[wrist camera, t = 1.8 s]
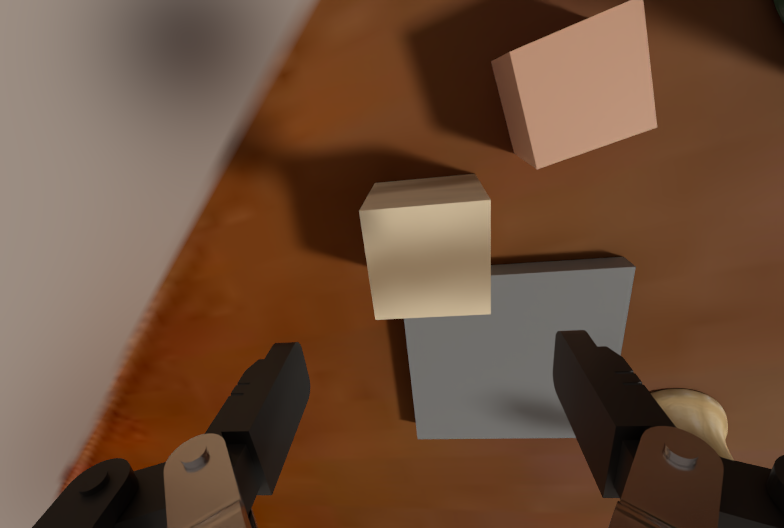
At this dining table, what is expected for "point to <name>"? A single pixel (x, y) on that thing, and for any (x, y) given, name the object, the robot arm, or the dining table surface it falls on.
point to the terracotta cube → (578, 87)
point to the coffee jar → (780, 8)
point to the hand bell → (696, 416)
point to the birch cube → (428, 247)
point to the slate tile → (513, 349)
